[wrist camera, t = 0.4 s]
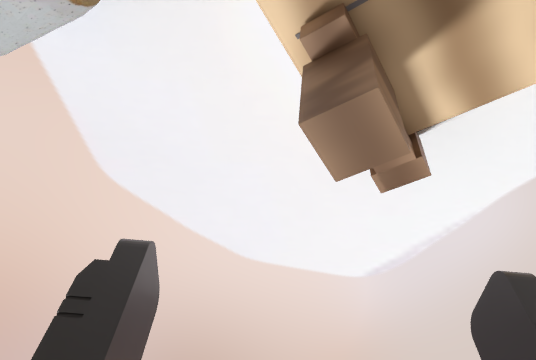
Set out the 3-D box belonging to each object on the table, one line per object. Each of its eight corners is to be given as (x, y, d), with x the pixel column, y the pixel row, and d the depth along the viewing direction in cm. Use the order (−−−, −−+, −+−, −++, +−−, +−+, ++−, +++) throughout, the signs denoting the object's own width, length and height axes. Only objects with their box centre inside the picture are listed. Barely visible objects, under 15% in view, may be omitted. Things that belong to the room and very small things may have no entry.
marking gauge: (351, -15, 27) (364, 58, 18) (422, 138, 33) (456, 244, 25) (294, 18, 28) (282, 99, 20) (373, 157, 35) (389, 264, 26)
